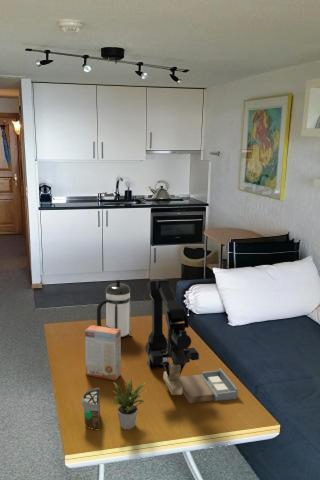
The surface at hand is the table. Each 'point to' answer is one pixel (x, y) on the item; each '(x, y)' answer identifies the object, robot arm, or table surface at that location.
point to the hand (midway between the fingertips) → (173, 375)
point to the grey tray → (225, 380)
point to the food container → (91, 407)
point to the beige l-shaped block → (173, 379)
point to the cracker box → (103, 352)
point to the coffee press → (116, 307)
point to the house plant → (128, 405)
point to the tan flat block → (195, 389)
